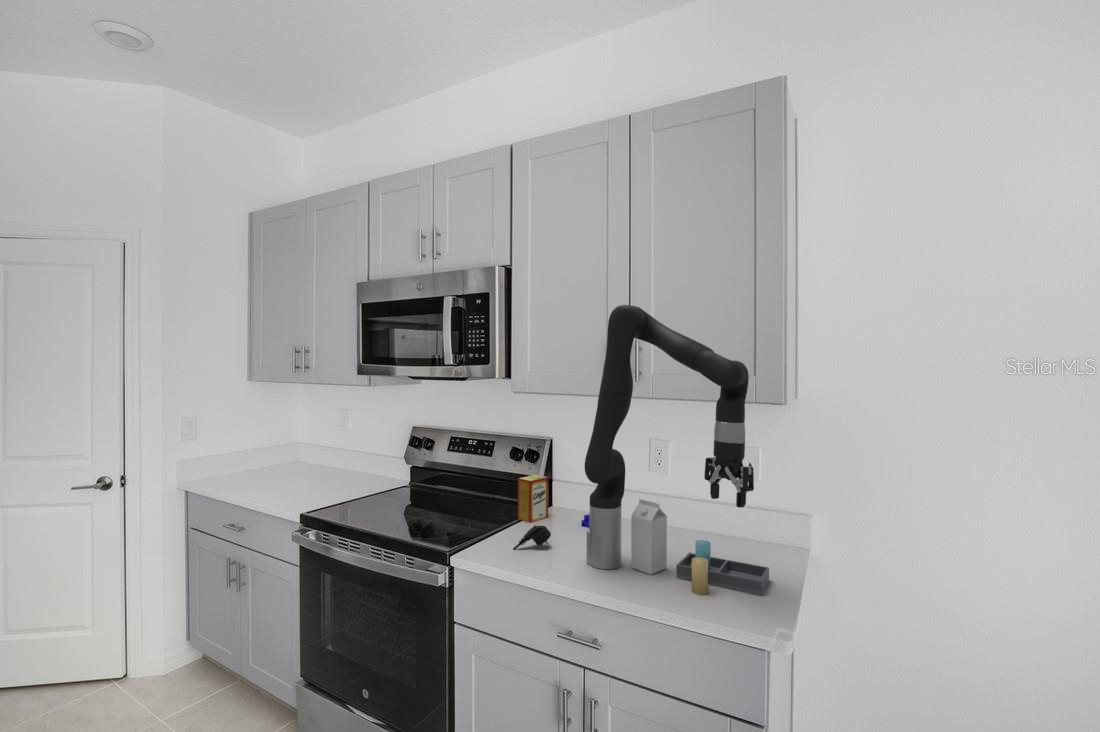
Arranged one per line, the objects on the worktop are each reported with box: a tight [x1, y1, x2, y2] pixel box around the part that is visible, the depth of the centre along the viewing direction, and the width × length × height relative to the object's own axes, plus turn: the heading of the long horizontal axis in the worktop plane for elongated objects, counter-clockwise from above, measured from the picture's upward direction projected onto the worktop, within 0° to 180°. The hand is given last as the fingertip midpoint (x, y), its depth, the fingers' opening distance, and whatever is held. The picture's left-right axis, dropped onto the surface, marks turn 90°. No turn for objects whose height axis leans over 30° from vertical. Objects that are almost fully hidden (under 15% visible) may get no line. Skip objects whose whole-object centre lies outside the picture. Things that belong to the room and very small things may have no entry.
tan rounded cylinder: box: [691, 557, 709, 595], centre depth 139 cm, size 4×4×8 cm
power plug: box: [512, 525, 552, 551], centre depth 171 cm, size 6×8×12 cm
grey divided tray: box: [675, 552, 770, 597], centre depth 147 cm, size 22×11×4 cm, turn 59°
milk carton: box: [630, 498, 668, 575], centre depth 155 cm, size 7×7×19 cm
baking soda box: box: [517, 474, 549, 524], centre depth 203 cm, size 10×6×16 cm
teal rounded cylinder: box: [694, 539, 712, 571], centre depth 150 cm, size 4×4×8 cm
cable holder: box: [580, 513, 590, 529], centre depth 193 cm, size 8×4×4 cm, turn 49°
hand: (727, 502), depth 139 cm, fingers open, 8 cm apart
